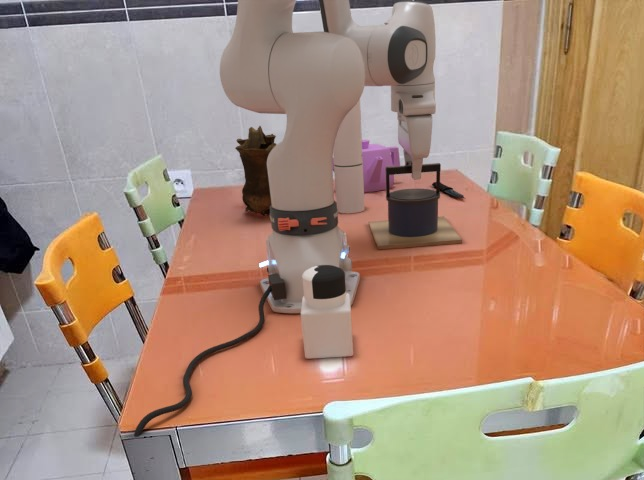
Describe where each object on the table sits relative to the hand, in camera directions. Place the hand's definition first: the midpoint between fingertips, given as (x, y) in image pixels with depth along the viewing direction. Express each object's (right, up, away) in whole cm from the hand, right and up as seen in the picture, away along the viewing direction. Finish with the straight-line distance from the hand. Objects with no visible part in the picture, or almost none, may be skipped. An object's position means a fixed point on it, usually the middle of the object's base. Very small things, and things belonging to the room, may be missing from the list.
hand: (412, 174), depth 139 cm
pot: (+1, -9, +7) cm, 12 cm away
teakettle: (-10, +18, +48) cm, 52 cm away
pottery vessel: (-36, +4, +30) cm, 47 cm away
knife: (+13, +12, +37) cm, 41 cm away
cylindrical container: (-14, +4, +28) cm, 31 cm away
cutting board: (+1, -10, +7) cm, 12 cm away
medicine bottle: (-16, -46, -41) cm, 63 cm away
